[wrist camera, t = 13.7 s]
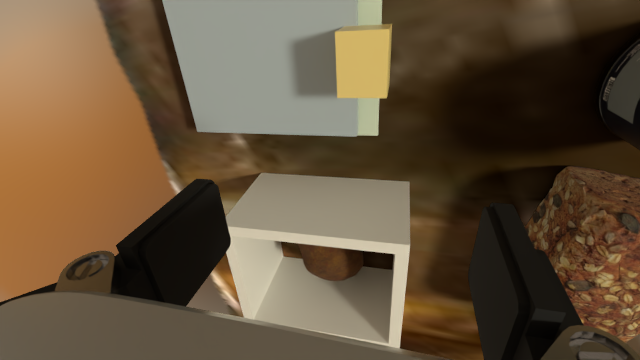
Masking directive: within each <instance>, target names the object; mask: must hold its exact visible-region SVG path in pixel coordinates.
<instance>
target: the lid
mask: <svg viewBox="0 0 640 360" xmlns="http://www.w3.org/2000/svg"><path fill="white" fill-rule="evenodd" d="M162 1H163V5H164V9H165V12H166V16H167V20H168V24H169V27H170V31H171V35H172V39H173V42H174V46H175V50H176V54H177V57H178V61H179V65H180V68H181V72H182V76H183V80H184V83H185V87H186V91H187V95H188V98H189V102H190V106H191V109H192V113H193V117H194V121H195V124H196V128H197V132H221V133H255V134H289V135H322V136H356V137H357V135H358V98H387V94H388V89H389V80H390V58H391V35H392V24H380V25H361V26H358V0H162Z"/></svg>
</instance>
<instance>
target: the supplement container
mask: <svg viewBox="0 0 640 360" xmlns="http://www.w3.org/2000/svg"><path fill="white" fill-rule="evenodd" d="M594 101H595V108H596V112H597V115H598V117H599V119H600V121H601V122H602V124H603V125H604V126H605V127H606V128H607V129H608V130H609V131H610V132H612V133H613V134H615V135H616V136H618V137H620V138H622V139H624V140H625V141H627V142H628V143H630V144H631V145H633V146H634V147H636V148H637V149H639V150H640V33H639V34H638V35H636V36H635V37H633V38H632V39H631V40H630V41H628V42H627V43H626V44H625V45H624V46H623V47H622V48H620V49H619V50H618V51H617V53H616V54H615V55H614V56H613V57H612V58H611V60H610V61H609V62H608V63H607V65H606V67H605V68H604V70H603V72H602V73H601V75H600V78H599V80H598V83H597V86H596V90H595V100H594Z"/></svg>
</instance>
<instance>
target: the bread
mask: <svg viewBox="0 0 640 360" xmlns="http://www.w3.org/2000/svg"><path fill="white" fill-rule="evenodd" d="M525 229H526V232H527V234H528V236H529V238H530V240H531V242H532V244H533V246H534V248H535V249H538V250H542V251H544V252H545V253H546V255H547V256H548V258H549V260H550V262H551V264H552V266H553V268H554V270H555V272H556V273H557V275H558V277H559V279H560V281H561V283H562V285H563V287H564V289H565V291H566V293H567V294H568V296H569V298H570V300H571V302H572V304H573V306H574V308H575V310H576V312H577V314H578V315H579V317H580V319H581V321H582V323H583V325H584V326H591V327H594V328H598V329H601V330H604V331H606V332H608V333H610V334H612V335H614V336H616V337H617V338H619V339H620V340H622V341H623V342H625V343H627V341H629V340H631V339H632V338H634V337H636V336H638V335H640V179H639V178H633V177H628V176H625V175H620V174H613V173H608V172H606V171H603V170H595V169H590V168H584V167H576V166H568V167H566V168H564V169H563V170H562V171H561V172H560V173H559V174H557V175H556V178H555V181H554V184H553V187H552V188H551V189H550V191H549V193H548V194H547V195H546V197H545V199H543V200H542V202H541V203H540V204H539V206H538V207H537V209H536V211H535V212H534V214H533V216H532V217H531V219H530V221H529V222H528V224H527V225H526V227H525Z"/></svg>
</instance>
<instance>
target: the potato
mask: <svg viewBox="0 0 640 360" xmlns="http://www.w3.org/2000/svg"><path fill="white" fill-rule="evenodd" d="M297 245H298V247H299V249H300V252H301V254H302V257H303V262H304V265H305V267H306V269H307V271H309V272H310V273H311V274H313V275H315V276H317V277H319V278H321V279H324V280H328V281H343V280H346V279H348V278H350V277H353V276H355V275H356V274H357V273H358V272H359V271H360V269H361V268H362V266H363V264H364V258H363V252H362V250H353V249H344V248H335V247H326V246H317V245H308V244H299V243H297Z"/></svg>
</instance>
